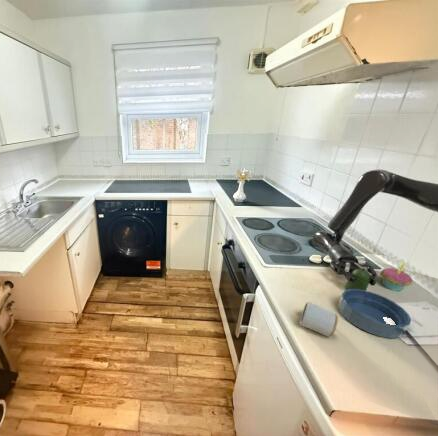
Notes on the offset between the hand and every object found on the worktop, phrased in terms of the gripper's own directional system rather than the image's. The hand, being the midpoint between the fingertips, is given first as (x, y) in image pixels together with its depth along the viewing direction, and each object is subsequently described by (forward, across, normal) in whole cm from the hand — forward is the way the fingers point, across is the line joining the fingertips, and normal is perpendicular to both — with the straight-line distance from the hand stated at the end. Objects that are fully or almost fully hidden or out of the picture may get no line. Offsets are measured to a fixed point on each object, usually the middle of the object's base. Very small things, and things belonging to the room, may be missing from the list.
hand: (363, 282), depth 84 cm
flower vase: (-101, -34, +6) cm, 107 cm away
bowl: (+12, -2, +6) cm, 13 cm away
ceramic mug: (+20, -20, +6) cm, 29 cm away
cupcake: (-9, +15, +6) cm, 19 cm away
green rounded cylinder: (-2, 0, +6) cm, 6 cm away
